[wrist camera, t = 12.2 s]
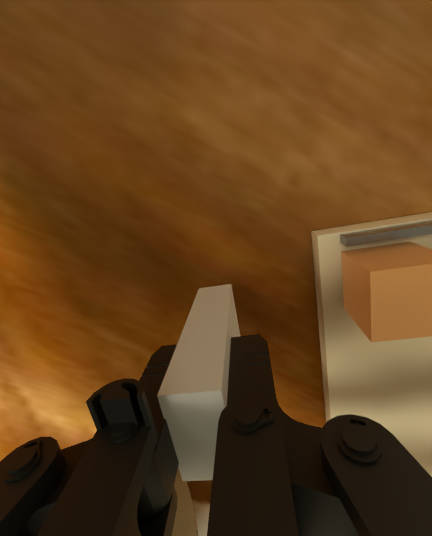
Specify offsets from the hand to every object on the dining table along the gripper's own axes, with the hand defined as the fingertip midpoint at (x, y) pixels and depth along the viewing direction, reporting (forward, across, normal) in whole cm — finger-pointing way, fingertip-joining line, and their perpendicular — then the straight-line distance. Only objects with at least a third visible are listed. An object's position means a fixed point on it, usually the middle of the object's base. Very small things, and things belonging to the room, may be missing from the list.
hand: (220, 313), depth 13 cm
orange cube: (+2, +8, 0) cm, 8 cm away
